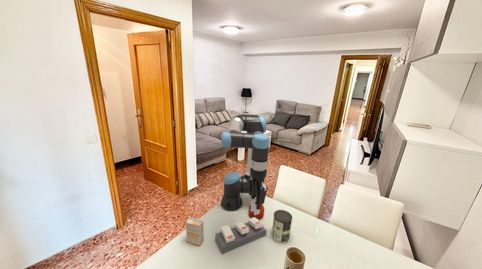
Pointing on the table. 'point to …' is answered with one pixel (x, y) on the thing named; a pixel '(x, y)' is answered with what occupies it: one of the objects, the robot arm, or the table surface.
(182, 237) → the table surface
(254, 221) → the block
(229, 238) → the rocker
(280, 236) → the coffee can
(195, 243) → the supplement box
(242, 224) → the rocker
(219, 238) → the rocker switch panel
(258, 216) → the apple
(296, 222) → the table surface
